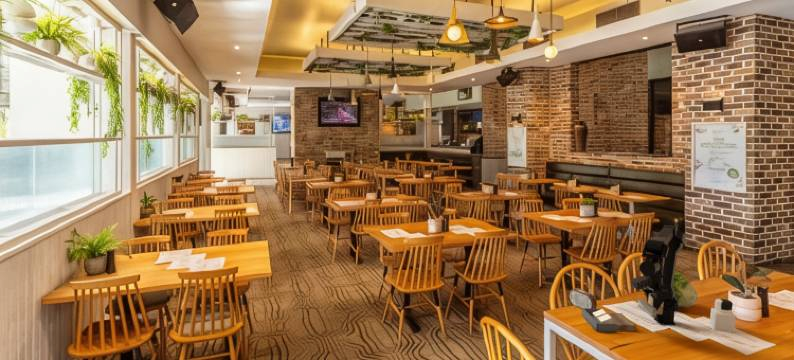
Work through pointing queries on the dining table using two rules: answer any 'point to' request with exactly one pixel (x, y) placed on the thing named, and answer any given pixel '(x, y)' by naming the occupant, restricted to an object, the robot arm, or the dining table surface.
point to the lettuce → (683, 291)
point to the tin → (582, 298)
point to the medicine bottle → (723, 316)
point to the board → (622, 322)
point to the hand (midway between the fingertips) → (652, 309)
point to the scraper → (649, 307)
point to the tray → (597, 326)
